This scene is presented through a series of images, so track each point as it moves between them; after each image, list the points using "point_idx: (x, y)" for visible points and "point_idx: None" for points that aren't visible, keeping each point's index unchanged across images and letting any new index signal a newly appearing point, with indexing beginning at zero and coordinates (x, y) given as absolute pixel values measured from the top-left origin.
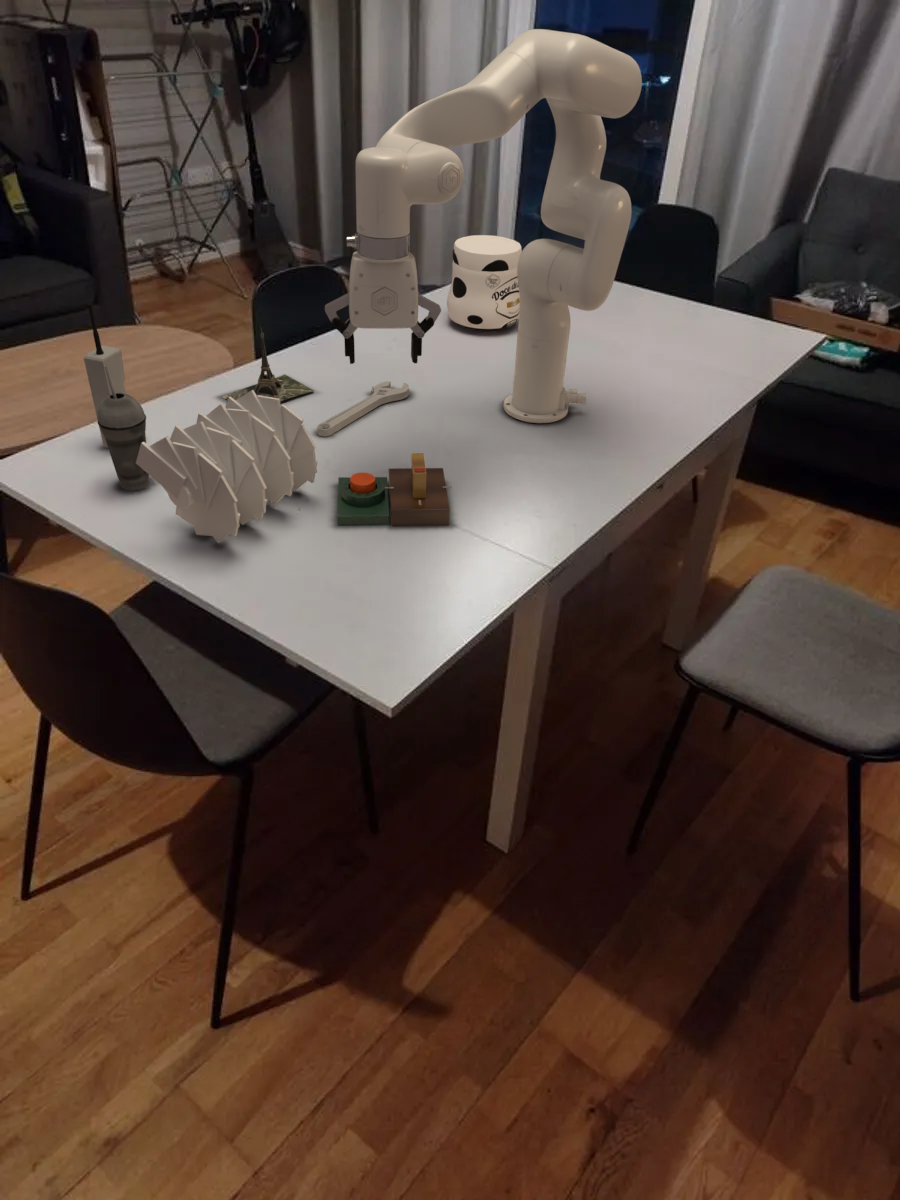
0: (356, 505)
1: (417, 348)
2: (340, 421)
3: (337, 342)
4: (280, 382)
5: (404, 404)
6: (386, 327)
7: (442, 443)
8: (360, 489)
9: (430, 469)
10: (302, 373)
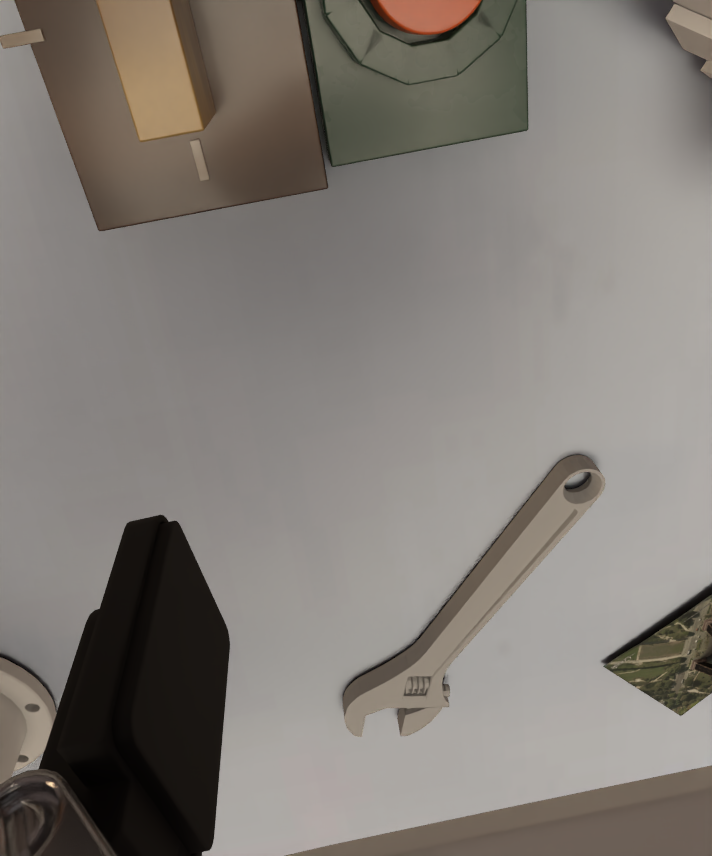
0: None
1: (94, 636)
2: (532, 523)
3: None
4: (693, 682)
5: (347, 658)
6: (581, 811)
7: (187, 485)
8: None
9: (148, 207)
10: (631, 731)
